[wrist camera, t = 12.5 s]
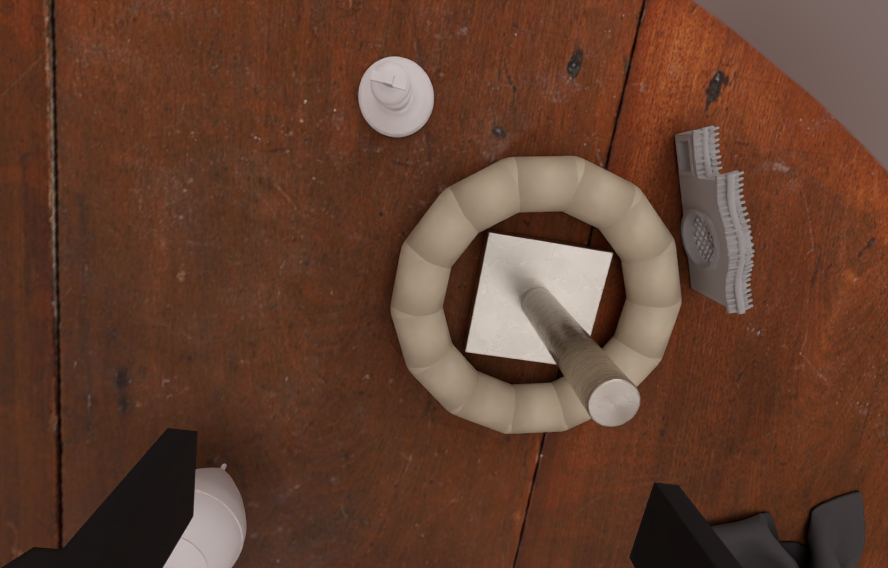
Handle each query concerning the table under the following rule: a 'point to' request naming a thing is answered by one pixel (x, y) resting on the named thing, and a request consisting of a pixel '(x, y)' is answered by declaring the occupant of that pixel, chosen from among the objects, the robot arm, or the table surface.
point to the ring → (490, 202)
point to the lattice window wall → (713, 222)
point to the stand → (549, 316)
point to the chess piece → (396, 96)
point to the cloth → (789, 563)
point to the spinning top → (212, 524)
